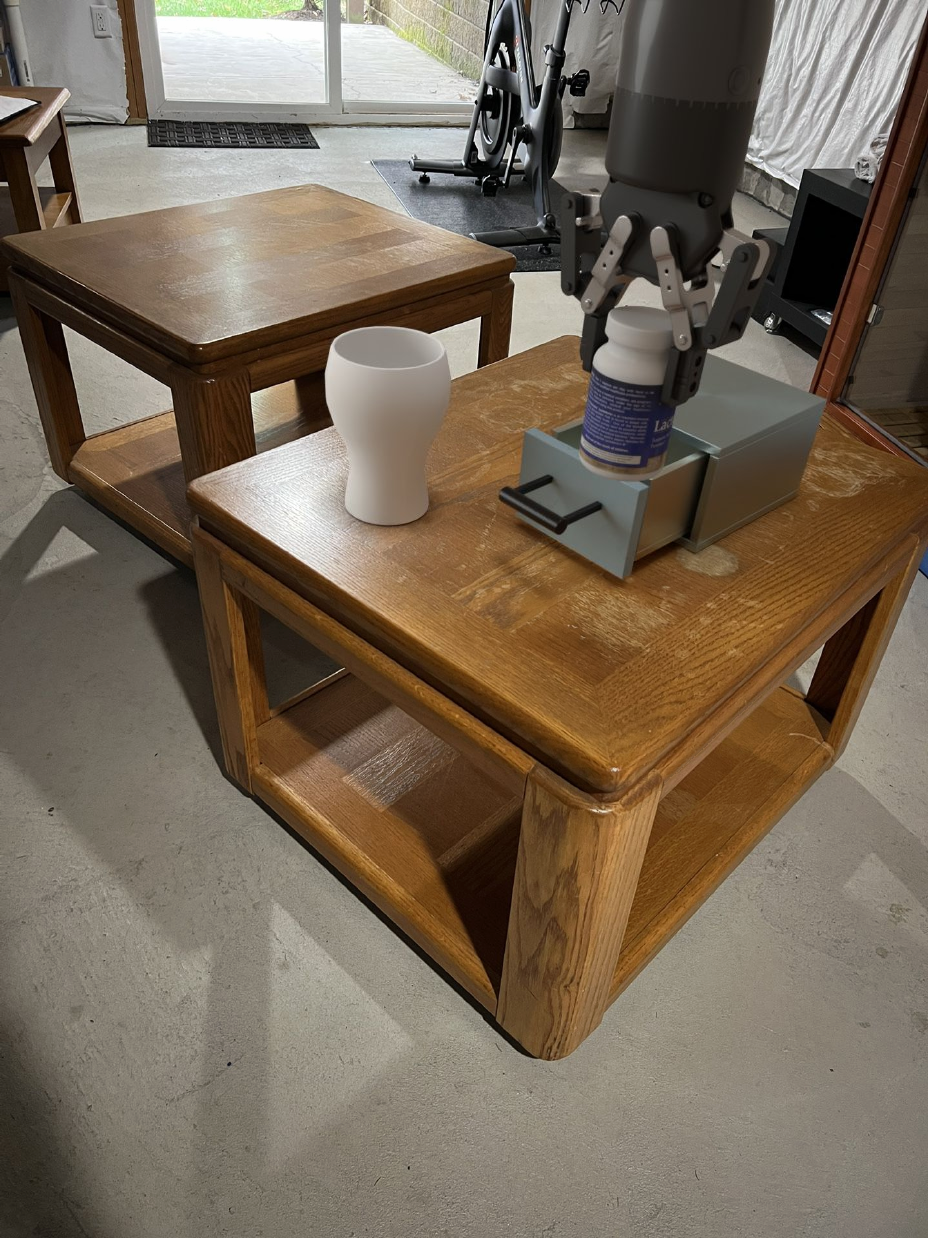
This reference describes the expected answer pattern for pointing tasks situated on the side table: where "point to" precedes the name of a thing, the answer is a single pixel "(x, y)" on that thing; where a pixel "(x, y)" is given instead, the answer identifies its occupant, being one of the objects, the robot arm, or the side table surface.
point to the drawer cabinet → (745, 445)
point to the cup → (387, 417)
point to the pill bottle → (629, 397)
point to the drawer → (605, 499)
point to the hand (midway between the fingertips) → (633, 385)
